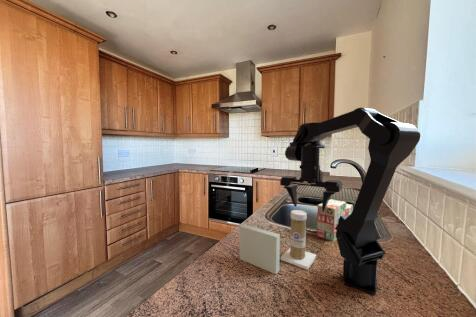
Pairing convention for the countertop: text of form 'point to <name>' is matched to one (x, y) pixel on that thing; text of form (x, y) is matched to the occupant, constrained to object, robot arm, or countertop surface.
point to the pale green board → (260, 248)
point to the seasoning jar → (298, 234)
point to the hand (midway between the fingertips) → (308, 208)
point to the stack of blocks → (331, 218)
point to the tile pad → (301, 263)
